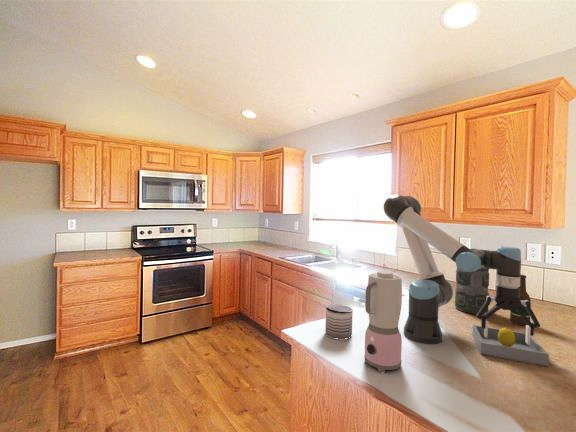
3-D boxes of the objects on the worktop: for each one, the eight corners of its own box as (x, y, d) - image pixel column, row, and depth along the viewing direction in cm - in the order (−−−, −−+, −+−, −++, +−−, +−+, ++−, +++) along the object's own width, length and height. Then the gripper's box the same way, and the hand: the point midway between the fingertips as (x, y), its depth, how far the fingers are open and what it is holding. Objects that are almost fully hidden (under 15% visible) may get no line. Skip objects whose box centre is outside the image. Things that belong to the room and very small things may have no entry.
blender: (379, 352, 111) (381, 267, 110) (408, 366, 101) (411, 273, 100) (350, 363, 102) (352, 271, 101) (379, 380, 92) (382, 278, 91)
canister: (470, 315, 154) (472, 262, 154) (448, 306, 170) (449, 257, 169) (495, 314, 158) (497, 262, 157) (471, 305, 173) (473, 257, 173)
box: (480, 354, 111) (481, 342, 111) (472, 334, 129) (472, 324, 129) (548, 367, 103) (548, 354, 103) (528, 344, 121) (529, 333, 121)
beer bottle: (511, 319, 150) (513, 272, 150) (531, 323, 145) (532, 275, 145) (508, 323, 145) (510, 274, 145) (528, 327, 139) (530, 277, 139)
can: (320, 331, 130) (321, 303, 129) (342, 327, 134) (343, 301, 134) (333, 341, 119) (334, 312, 119) (357, 338, 123) (358, 309, 123)
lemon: (498, 343, 120) (498, 323, 120) (515, 347, 116) (515, 327, 116) (496, 348, 116) (497, 327, 116) (514, 352, 112) (515, 331, 112)
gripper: (472, 284, 117) (470, 337, 118) (552, 292, 107) (550, 350, 107) (469, 280, 124) (468, 330, 125) (544, 288, 114) (542, 342, 114)
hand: (506, 339), depth 116 cm, fingers open, 13 cm apart
